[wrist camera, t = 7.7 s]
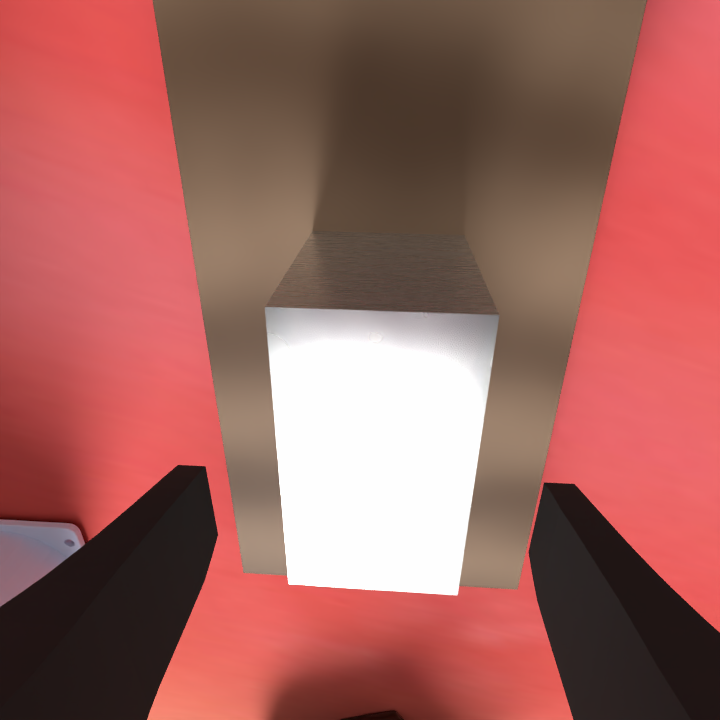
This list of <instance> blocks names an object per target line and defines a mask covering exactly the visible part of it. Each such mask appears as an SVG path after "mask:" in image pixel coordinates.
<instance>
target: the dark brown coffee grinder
mask: <svg viewBox="0 0 720 720" xmlns="http://www.w3.org/2000/svg"><path fill="white" fill-rule="evenodd" d="M344 720H403V719H402V718H401V716H400V715H399V714H398V713H397V712H396V711H391V712H383V713H376V714H369V715H363V716H358V717H353V718H349V719H344Z"/></svg>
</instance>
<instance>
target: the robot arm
mask: <svg viewBox="0 0 720 720" xmlns="http://www.w3.org/2000/svg"><path fill="white" fill-rule="evenodd" d="M217 536H218V532H217V527H216V521H215V516H214V511H213V505H212V500H211V494H210V489H209V483H208V478H207V472H206V467H205V466H186V465H178V466H177V467H175V468H174V469H173V470H172V471H171V472H169V473H168V474H167V475H166V476H165V477H164V478H162V479H161V480H160V481H159V482H158V483H157V484H156V485H154V486H153V487H152V488H151V489H150V490H149V491H148V492H146V493H145V494H144V495H143V496H142V497H141V498H140V499H138V500H137V501H136V502H135V503H134V504H133V505H132V506H130V507H129V508H128V509H127V510H126V511H125V512H123V513H122V514H121V515H120V516H119V517H118V518H116V519H115V520H114V521H113V522H112V523H110V524H109V525H108V526H107V527H106V528H105V529H103V530H102V531H101V532H100V533H99V534H97V535H96V536H95V537H94V538H92V539H91V540H90V541H89V542H87V543H86V544H85V542H84V540H83V537H82V534H81V531H80V529H79V528H78V527H77V526H76V525H74V524H70V523H56V522H38V521H21V520H3V519H0V720H147V718H148V715H149V712H150V709H151V707H152V704H153V701H154V699H155V696H156V694H157V691H158V688H159V686H160V684H161V681H162V679H163V677H164V674H165V672H166V670H167V667H168V665H169V663H170V660H171V658H172V656H173V653H174V651H175V649H176V646H177V644H178V642H179V640H180V637H181V635H182V633H183V630H184V628H185V626H186V623H187V621H188V619H189V616H190V614H191V612H192V609H193V607H194V604H195V602H196V600H197V597H198V595H199V593H200V590H201V588H202V585H203V583H204V581H205V577H206V574H207V571H208V568H209V564H210V561H211V558H212V554H213V551H214V547H215V543H216V540H217ZM529 557H530V563H531V569H532V575H533V580H534V586H535V591H536V596H537V601H538V604H539V608H540V611H541V615H542V618H543V621H544V625H545V628H546V631H547V635H548V638H549V641H550V644H551V648H552V651H553V654H554V657H555V661H556V664H557V667H558V670H559V674H560V677H561V680H562V683H563V687H564V690H565V693H566V696H567V700H568V703H569V706H570V709H571V713H572V716H573V719H574V720H720V633H719V632H718V631H717V630H716V629H715V628H714V627H713V626H712V625H710V624H709V623H708V622H707V621H706V620H705V619H704V618H703V617H702V616H701V615H700V614H698V613H697V612H696V611H695V610H694V609H693V608H692V607H691V606H690V605H689V604H688V603H687V602H686V601H685V600H684V599H683V598H682V597H681V596H679V595H678V594H677V593H676V592H675V591H674V590H673V589H672V588H671V587H670V586H669V585H668V584H667V583H666V582H665V581H664V580H663V579H662V578H661V577H660V576H659V575H658V574H657V573H656V572H655V571H654V570H653V569H652V568H651V567H650V566H649V565H648V564H647V563H646V562H645V560H644V559H643V558H642V557H641V556H640V555H639V554H638V553H637V552H636V551H635V550H634V549H633V548H632V547H631V546H630V545H629V544H628V543H627V542H626V540H625V539H624V538H623V537H622V536H621V535H620V534H619V533H618V532H617V531H616V530H615V528H614V527H613V526H612V525H611V524H610V523H609V522H608V521H607V520H606V519H605V517H604V516H603V515H602V514H601V513H600V512H599V511H598V510H597V509H596V507H595V506H594V505H593V504H592V503H591V502H590V501H589V500H588V499H587V497H586V496H585V495H584V494H583V493H582V492H581V491H580V490H579V489H578V488H577V486H576V485H575V484H562V483H544V486H543V490H542V495H541V499H540V504H539V508H538V513H537V517H536V522H535V526H534V531H533V535H532V539H531V544H530V548H529Z"/></svg>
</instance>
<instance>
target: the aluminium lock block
mask: <svg viewBox="0 0 720 720" xmlns="http://www.w3.org/2000/svg"><path fill="white" fill-rule="evenodd" d="M265 316H266V328H267V339H268V351H269V362H270V374H271V385H272V396H273V408H274V419H275V431H276V442H277V454H278V465H279V477H280V488H281V500H282V511H283V523H284V534H285V546H286V557H287V569H288V580H289V584H298V585H313V586H328V587H343V588H358V589H372V590H387V591H402V592H417V593H432V594H446V595H458V589H459V582H460V576H461V569H462V562H463V556H464V549H465V542H466V536H467V529H468V522H469V515H470V509H471V502H472V495H473V489H474V482H475V475H476V469H477V462H478V455H479V449H480V442H481V435H482V429H483V422H484V415H485V408H486V402H487V395H488V388H489V382H490V375H491V368H492V362H493V355H494V348H495V342H496V335H497V328H498V321H499V313H498V311H497V308H496V306H495V304H494V302H493V299H492V297H491V295H490V292H489V290H488V288H487V285H486V283H485V281H484V279H483V276H482V274H481V272H480V269H479V267H478V265H477V263H476V260H475V258H474V256H473V253H472V251H471V249H470V247H469V244H468V242H467V240H466V237H465V235H446V234H407V233H369V232H330V231H312V232H311V234H310V236H309V237H308V239H307V240H306V242H305V244H304V245H303V247H302V248H301V250H300V252H299V253H298V255H297V256H296V258H295V259H294V261H293V263H292V264H291V266H290V267H289V269H288V271H287V272H286V274H285V275H284V277H283V279H282V280H281V282H280V283H279V285H278V287H277V288H276V290H275V291H274V293H273V295H272V296H271V298H270V299H269V301H268V302H267V304H266V306H265Z"/></svg>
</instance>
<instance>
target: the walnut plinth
mask: <svg viewBox="0 0 720 720" xmlns="http://www.w3.org/2000/svg"><path fill="white" fill-rule="evenodd" d="M646 2H647V0H153V5H154V12H155V18H156V24H157V30H158V37H159V43H160V49H161V56H162V62H163V68H164V74H165V81H166V87H167V93H168V100H169V106H170V112H171V119H172V125H173V131H174V137H175V144H176V150H177V156H178V163H179V169H180V175H181V181H182V188H183V194H184V200H185V207H186V213H187V219H188V226H189V232H190V238H191V244H192V251H193V257H194V263H195V270H196V276H197V282H198V288H199V295H200V301H201V307H202V314H203V320H204V326H205V332H206V339H207V345H208V351H209V358H210V364H211V370H212V377H213V383H214V389H215V395H216V402H217V408H218V414H219V421H220V427H221V433H222V439H223V446H224V452H225V458H226V465H227V471H228V477H229V484H230V490H231V496H232V502H233V509H234V515H235V521H236V528H237V534H238V540H239V546H240V553H241V559H242V565H243V572H244V573H255V574H272V575H288V569H287V557H286V546H285V534H284V523H283V511H282V500H281V488H280V477H279V465H278V454H277V442H276V431H275V419H274V408H273V396H272V385H271V374H270V362H269V351H268V339H267V328H266V316H265V306H266V304H267V302H268V301H269V299H270V298H271V296H272V295H273V293H274V291H275V290H276V288H277V287H278V285H279V283H280V282H281V280H282V279H283V277H284V275H285V274H286V272H287V271H288V269H289V267H290V266H291V264H292V263H293V261H294V259H295V258H296V256H297V255H298V253H299V252H300V250H301V248H302V247H303V245H304V244H305V242H306V240H307V239H308V237H309V236H310V234H311V232H312V231H330V232H369V233H407V234H446V235H465V237H466V240H467V242H468V244H469V247H470V249H471V251H472V253H473V256H474V258H475V260H476V263H477V265H478V267H479V269H480V272H481V274H482V276H483V279H484V281H485V283H486V285H487V288H488V290H489V292H490V295H491V297H492V299H493V302H494V304H495V306H496V308H497V311H498V313H499V321H498V328H497V335H496V342H495V348H494V355H493V362H492V368H491V375H490V382H489V388H488V395H487V402H486V408H485V415H484V422H483V429H482V435H481V442H480V449H479V455H478V462H477V469H476V475H475V482H474V489H473V495H472V502H471V509H470V515H469V522H468V529H467V536H466V542H465V549H464V556H463V562H462V569H461V576H460V582H459V586H468V587H485V588H501V589H518V585H519V580H520V576H521V571H522V567H523V562H524V557H525V553H526V548H527V544H528V539H529V535H530V530H531V526H532V521H533V516H534V512H535V507H536V503H537V498H538V494H539V489H540V485H541V480H542V475H543V471H544V466H545V462H546V457H547V453H548V448H549V444H550V439H551V434H552V430H553V425H554V421H555V416H556V412H557V407H558V403H559V398H560V394H561V389H562V384H563V380H564V375H565V371H566V366H567V362H568V357H569V353H570V348H571V343H572V339H573V334H574V330H575V325H576V321H577V316H578V312H579V307H580V302H581V298H582V293H583V289H584V284H585V280H586V275H587V271H588V266H589V261H590V257H591V252H592V248H593V243H594V239H595V234H596V230H597V225H598V220H599V216H600V211H601V207H602V202H603V198H604V193H605V189H606V184H607V179H608V175H609V170H610V166H611V161H612V157H613V152H614V148H615V143H616V138H617V134H618V129H619V125H620V120H621V116H622V111H623V107H624V102H625V97H626V93H627V88H628V84H629V79H630V75H631V70H632V66H633V61H634V57H635V52H636V47H637V43H638V38H639V34H640V29H641V25H642V20H643V16H644V11H645V6H646Z"/></svg>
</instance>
